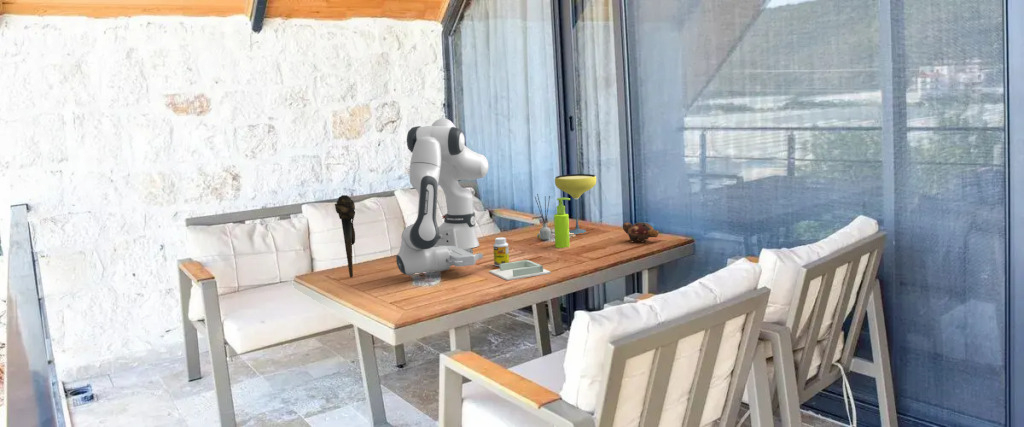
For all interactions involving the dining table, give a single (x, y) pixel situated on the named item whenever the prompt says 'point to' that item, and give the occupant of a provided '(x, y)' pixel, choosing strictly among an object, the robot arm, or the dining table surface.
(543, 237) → the reed diffuser
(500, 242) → the supplement bottle
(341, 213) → the decorative torch
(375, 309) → the dining table surface
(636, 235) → the decorative turtle
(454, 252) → the robot arm
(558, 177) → the cocktail glass
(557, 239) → the soap dispenser
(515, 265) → the u rest
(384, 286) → the dining table surface
